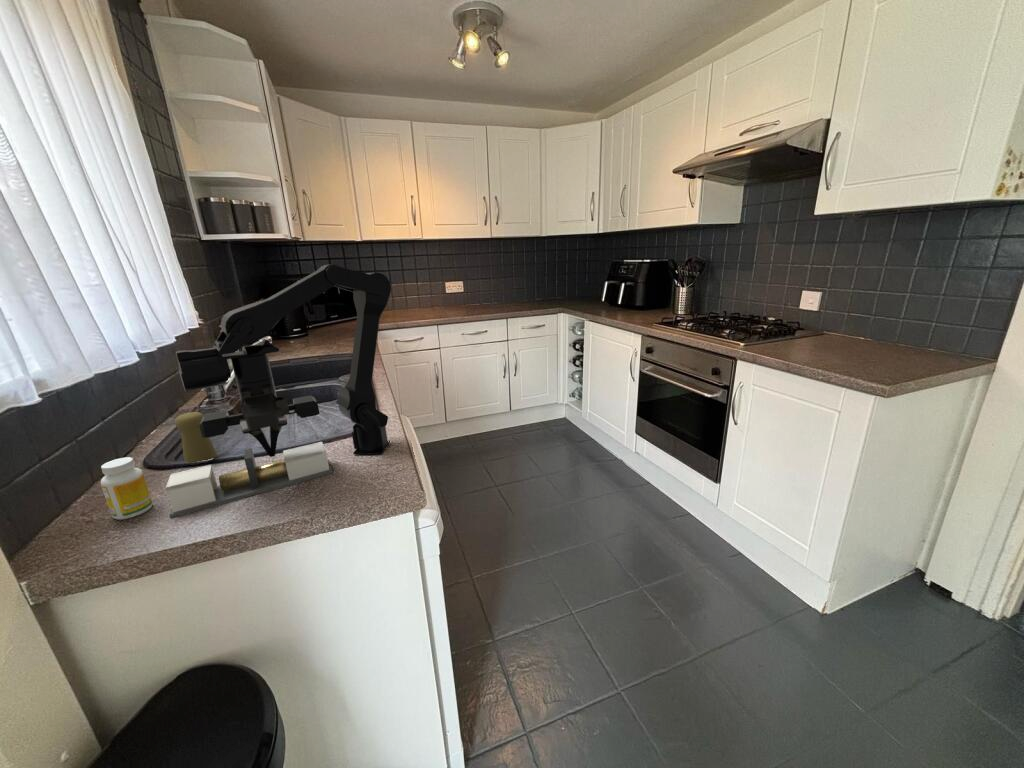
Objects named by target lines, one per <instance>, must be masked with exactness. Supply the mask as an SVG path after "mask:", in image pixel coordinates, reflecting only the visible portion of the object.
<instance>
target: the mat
mask: <svg viewBox="0 0 1024 768" xmlns="http://www.w3.org/2000/svg"><path fill="white" fill-rule="evenodd" d="M328 465H329V470H326V471H323V472H319V473H315V474H312V475H308V476H304V477H300V478H297V479H293V480H289V477H288V474H287V475H283V476H279V477H276V478H272V479H268V480H264V481H260V482H259V487H256V488H251V484H249V485H245V486H241V487H238V488H234V489H230V490H226V491H222V490H221V487H220V484H219V485H217V486H218V489H215V490H214V493H215V497H216V501H213V502H210V503H206V504H202V505H199V506H195V507H191V508H187V509H184V510H180V511H176V512H173V509H172V507H170V508H171V509H170V510H169V511H170V512H169V515H168V516H169V519H172V518H176V517H179V516H182V515H186V514H190V513H193V512H197V511H200V510H204V509H208V508H211V507H214V506H219V505H222V504H226V503H230V502H233V501H238V500H240V499H244V498H248V497H251V496H256V495H259V494H262V493H266V492H267V493H268V492H271V491H274V490H277V489H281V488H284V487H287V486H292V485H294V484H295V485H296V484H299V483H303V482H305V481H310V480H313V479H317V478H320V477H325V476H328V475H331V474H333V469H332V467H331V464H330V463H329V461H328Z"/></svg>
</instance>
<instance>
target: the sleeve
mask: <svg viewBox="0 0 1024 768" xmlns="http://www.w3.org/2000/svg"><path fill="white" fill-rule="evenodd" d="M282 452H283V457H284V460H285V463H286V468H287V472H288V477H289V480H293V479H297V478H300V477H304V476H308V475H312V474H315V473H319V472H323V471H326V470H329V465H328V462H329V460H328V454H327V450H326V448H325V445H324V443H323V441H319V442H313V443H311V444H305V445H301V446H297V447H294V448H288V449H285V450H282Z"/></svg>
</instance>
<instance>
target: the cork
mask: <svg viewBox="0 0 1024 768" xmlns="http://www.w3.org/2000/svg"><path fill="white" fill-rule="evenodd" d="M204 415H205V414H203V413H202V412H198V411H193V412H192V411H191V412H190V411H189V412H187V413H183V414H179V415H178V416H177V417H175V420H174V425H175V427H176V428H177V430H178V431H180V434H181V435H180V437H181V438H180V439H181V445H182V454H183V462H188V463H193V462H197V461H202V460H208V459H211V458H215V457H216V458H218V453H217V451H216V450H215V447H214V444H213V443H212V441H211V437H208V438H203V437H202V434H201V430H200V422H201V420H202V418H203V416H204ZM216 458H215V459H216Z"/></svg>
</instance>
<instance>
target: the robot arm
mask: <svg viewBox="0 0 1024 768" xmlns="http://www.w3.org/2000/svg"><path fill="white" fill-rule="evenodd" d="M334 287H336V288H339V289H342V290H345V291H349V292H352V294H353V295H352V296H353V297H352V298H353V303H354V306H355V309H356V311H355V312H356V322H355V323H356V324H355V330H354V331H355V332H354V338H353V340H354V341H353V348H352V356H351V363H350V365H351V366H350V373H349V379H348V381H347V382H346V384H345V386H343V385H338V389H337V393H338V395H337V400H336V402H335V404H336V405H338V410H339V412H340V413H341V414H342V415H343V416H345V418H347V419H348V420H350V421H351V422H352V423H354V425H353V426H352V430H353V431H352V432H351V436H352V442H353V443H352V444H353V448H354V451H353V452H352V453H353V455H354V454H372V455H382V454H383V453H384V452H385V451H386V449H387V448H388V447H387V446H389V445H390V444H391V443H390V441H391V440H388V435H387V429H386V427H387V426H388V420H389V416H388V415H386V414H385V413H383V412H382V411H380V410H378V409H377V399H376V393H375V389H374V386H373V376H374V365H375V358H376V351H377V345H378V343H377V342H378V336H379V335H378V334H379V328H380V327H379V326H380V321H381V320H380V319H381V316H382V314H383V313H384V311H385V309H386V308H387V306H388V303H389V300H390V297H391V294H392V293H391V292H392V283H391V281H390V280H389V278H388V277H387V276H386V275H384V274H383V273H381V272H361V271H356V270H353V269H350V268H345V267H342V266H339V265H337V264H332V263H331V264H324V265H321V266H320V267H319V269H316V271H314V272H312V273H310V274H309V275H307V276H305V277H303V278H301V279H300V280H299V279H298V281H296V282H294V283H293V284H292V283H291V285H289V286H287V287H285V288H283V289H282V290H280V291H277V293H275V294H273V295H271V296H269V297H268V298H265V299H262V300H260V301H256V302H252V303H249V304H246V305H243V306H241V307H238V308H235V309H232V310H230V311H228V312H227V313H225V314H224V315H223V316H222V317H221V322H220V328H221V332H220V333H219V335H218V336H217V339H216V340H214V343H213V345H212V347H209V348H202V349H201V348H200V349H192V350H191V349H188V350H187V349H186V350H185V349H184V350H183V349H182V350H177V351H176V352H175V355H176V360H177V363H178V373H179V375H180V380H181V382H182V385H183V388H184V392H185V393H186V392H193V391H198V390H202V389H209V388H213V387H214V388H215V387H219V386H220V387H221V386H224V385H226V382H227V381H229V379H230V378H232V375H231V374H232V373H231V369H230V365H229V362H228V360H230V362H231V366H232V370H233V375H234V378H235V382H236V387H237V391H238V394H239V395H238V396H239V400H240V410H241V413H236V414H231V415H230V414H229V412H228V410H223V411H218V412H211V413H207V414H203V415H204V416H203V418H202V420H201V422H200V430H201V434H202V437H203V438H208V437H209V438H213V437H217V436H218V437H219V436H222V435H226V432H227V431H228V430H229V427H232V426H238V425H239V426H240V427H241V433H242V434H243V435H246V434H249V435H251V436H253V437H254V438H255V440H256V441H258V442H259V444H260V445H261V446H262V448H263V449H264V450H265V452H266V453H267V455H268V456H269V458H272V457H273V458H274V457H275V456H276V452H277V451H276V450H277V445H278V438H279V436H280V432H281V430H282V427H285V426H287V425H288V420H287V416H288V415H293V414H296V416H297V417H300V418H301V419H304V418H311V417H315V416H318V415H320V409H319V404H318V402H317V399H316V398H315V397H314V396H312V395H305V396H300V397H295V398H292V403H290V404H289V403H288V398H287V395H284V394H283V395H278V396H277V391H276V386H275V382H274V381H275V380H274V377H273V372H272V369H271V364H270V360H269V355H268V354H273V353H278V352H280V348H279V347H277V346H275V345H273V344H272V343H271V342H270V340H268V339H266V338H264V339H262V338H263V337H265V336H266V335H267V334H268V333H270V332H271V331H272V330H273V329H274V327H275V326H276V325H277V324H278V323H279V322H280V321H281V320H283V318H284V317H285V316H287V315H288V314H291V313H292V312H294V311H295V310H297V309H299V308H301V307H302V306H304V305H306V304H307V303H309V302H311V301H313V300H314V299H316V298H317V297H318V296H320V295H322V294H324V293H325V292H327V291H329V290H331V289H332V288H334ZM261 339H262V341H261V342H260V343H258V342H259V341H260V340H261ZM255 343H257V344H255ZM240 349H241V351H239V350H240ZM268 427H269V428H268ZM265 428H268V429H269V439H268V436H267V434H266V432H265ZM388 441H389V442H388ZM389 443H390V444H389ZM388 444H389V445H388ZM386 447H387V448H386ZM385 448H386V449H385ZM383 451H384V452H383Z"/></svg>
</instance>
